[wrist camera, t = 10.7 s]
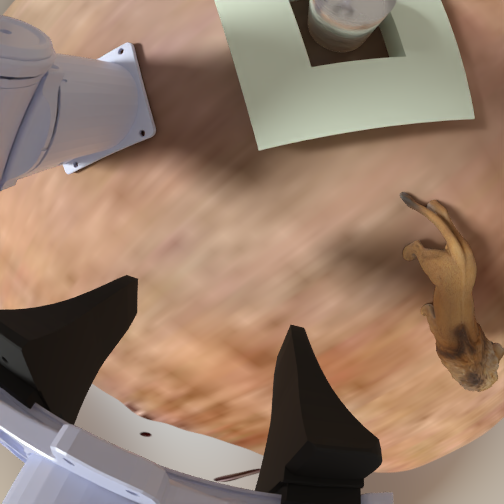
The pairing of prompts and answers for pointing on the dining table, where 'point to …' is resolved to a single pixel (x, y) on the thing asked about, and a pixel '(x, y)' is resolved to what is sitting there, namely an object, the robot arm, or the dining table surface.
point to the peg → (345, 21)
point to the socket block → (344, 73)
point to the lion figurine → (454, 303)
